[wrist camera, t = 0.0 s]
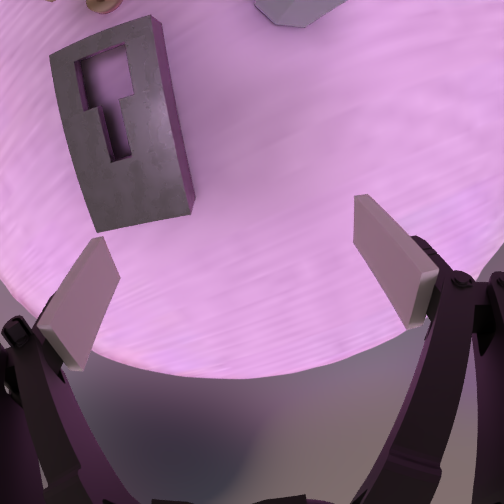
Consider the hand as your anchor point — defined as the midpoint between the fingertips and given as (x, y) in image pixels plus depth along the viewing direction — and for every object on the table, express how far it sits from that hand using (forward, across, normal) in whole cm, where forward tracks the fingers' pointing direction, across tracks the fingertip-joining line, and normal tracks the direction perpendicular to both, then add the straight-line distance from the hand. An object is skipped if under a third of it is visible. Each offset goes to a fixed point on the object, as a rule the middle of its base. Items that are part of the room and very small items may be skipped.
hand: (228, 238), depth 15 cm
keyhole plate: (+28, -13, +5) cm, 31 cm away
